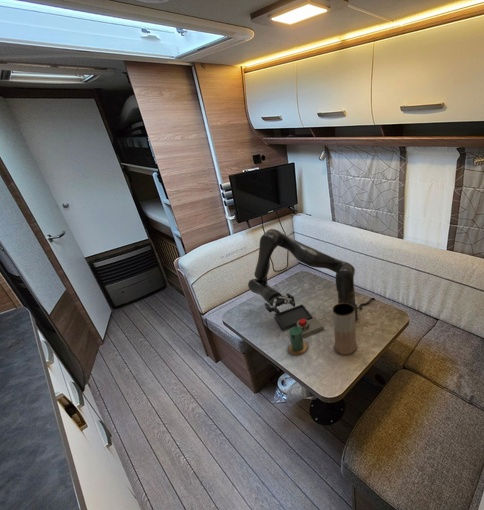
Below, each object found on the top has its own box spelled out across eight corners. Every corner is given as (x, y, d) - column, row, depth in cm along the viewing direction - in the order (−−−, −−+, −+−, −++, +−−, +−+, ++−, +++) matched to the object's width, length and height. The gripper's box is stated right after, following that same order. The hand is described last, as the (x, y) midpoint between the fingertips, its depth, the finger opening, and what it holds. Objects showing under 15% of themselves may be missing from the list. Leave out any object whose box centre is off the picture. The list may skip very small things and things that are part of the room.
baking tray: (302, 306, 168) (302, 304, 168) (312, 319, 157) (312, 316, 156) (275, 316, 161) (274, 314, 160) (283, 330, 149) (283, 327, 149)
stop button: (304, 320, 150) (304, 317, 150) (307, 324, 148) (307, 321, 147) (298, 322, 149) (298, 320, 148) (301, 326, 146) (300, 323, 145)
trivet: (303, 339, 142) (302, 338, 142) (310, 350, 135) (310, 349, 135) (286, 346, 138) (286, 345, 138) (292, 357, 131) (292, 356, 131)
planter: (337, 339, 141) (335, 301, 132) (357, 340, 139) (356, 303, 130) (333, 353, 132) (330, 314, 123) (354, 355, 130) (352, 316, 121)
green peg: (294, 341, 140) (292, 325, 136) (305, 343, 138) (303, 327, 134) (289, 350, 135) (287, 334, 130) (301, 352, 133) (298, 335, 129)
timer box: (315, 320, 156) (314, 314, 154) (323, 329, 148) (322, 323, 147) (295, 327, 151) (294, 321, 149) (302, 338, 143) (301, 331, 141)
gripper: (257, 294, 142) (272, 308, 130) (282, 284, 150) (298, 296, 138) (260, 307, 145) (275, 321, 133) (284, 296, 153) (300, 309, 141)
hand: (286, 308), depth 136 cm, fingers open, 8 cm apart
